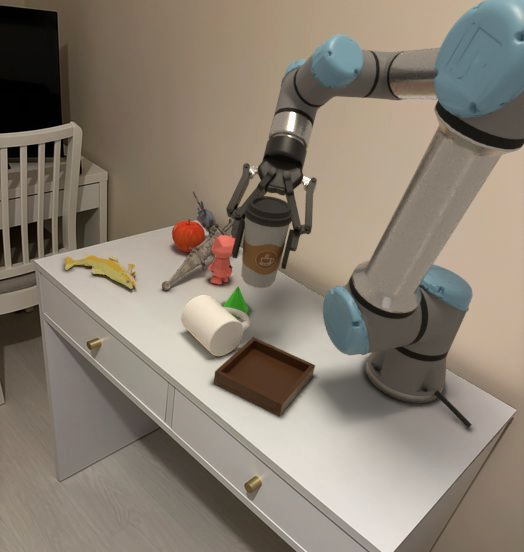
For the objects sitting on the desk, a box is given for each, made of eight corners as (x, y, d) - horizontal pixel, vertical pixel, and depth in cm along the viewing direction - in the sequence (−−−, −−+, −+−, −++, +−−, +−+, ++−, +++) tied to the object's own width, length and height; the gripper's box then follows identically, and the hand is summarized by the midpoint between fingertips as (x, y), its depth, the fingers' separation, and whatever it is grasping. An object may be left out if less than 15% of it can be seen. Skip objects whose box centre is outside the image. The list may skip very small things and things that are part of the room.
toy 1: (91, 249, 129) (56, 269, 123) (88, 237, 127) (53, 257, 121) (152, 282, 121) (118, 305, 116) (150, 270, 119) (116, 293, 113)
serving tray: (312, 376, 104) (315, 365, 102) (279, 416, 94) (282, 404, 92) (251, 348, 108) (253, 336, 107) (213, 383, 98) (214, 371, 97)
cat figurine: (222, 270, 131) (228, 223, 124) (241, 283, 127) (248, 236, 120) (199, 277, 127) (203, 230, 119) (218, 291, 123) (224, 243, 116)
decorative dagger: (170, 302, 122) (250, 225, 136) (175, 301, 120) (256, 222, 134) (150, 276, 120) (233, 200, 133) (154, 275, 118) (239, 197, 131)
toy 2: (220, 263, 141) (192, 216, 144) (233, 255, 142) (204, 209, 144) (215, 241, 127) (183, 190, 130) (230, 233, 127) (197, 182, 130)
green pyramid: (250, 318, 117) (254, 294, 113) (222, 316, 116) (225, 292, 112) (247, 302, 121) (251, 279, 118) (220, 301, 120) (223, 277, 117)
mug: (207, 361, 103) (211, 327, 98) (179, 333, 109) (181, 299, 104) (257, 344, 110) (263, 310, 105) (228, 318, 115) (232, 285, 111)
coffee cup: (240, 291, 99) (251, 213, 90) (232, 268, 106) (242, 193, 97) (284, 291, 101) (299, 216, 92) (274, 269, 108) (287, 196, 99)
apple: (173, 256, 133) (175, 226, 128) (169, 241, 139) (170, 211, 134) (206, 256, 135) (209, 227, 130) (200, 241, 141) (203, 212, 136)
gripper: (341, 166, 104) (315, 279, 100) (233, 144, 105) (204, 255, 102) (346, 146, 96) (318, 267, 93) (230, 122, 98) (198, 241, 94)
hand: (259, 260), depth 97 cm, fingers closed on coffee cup, 8 cm apart
